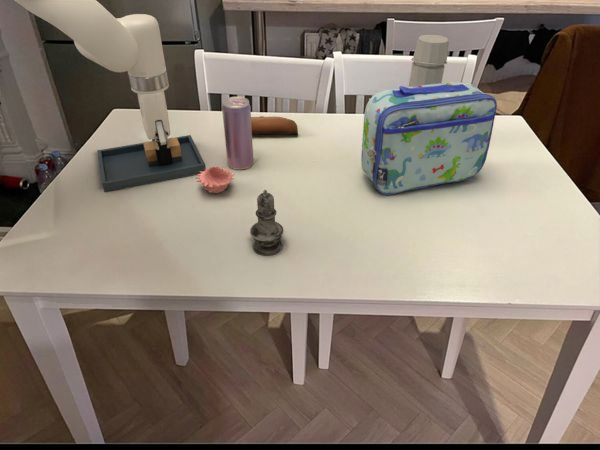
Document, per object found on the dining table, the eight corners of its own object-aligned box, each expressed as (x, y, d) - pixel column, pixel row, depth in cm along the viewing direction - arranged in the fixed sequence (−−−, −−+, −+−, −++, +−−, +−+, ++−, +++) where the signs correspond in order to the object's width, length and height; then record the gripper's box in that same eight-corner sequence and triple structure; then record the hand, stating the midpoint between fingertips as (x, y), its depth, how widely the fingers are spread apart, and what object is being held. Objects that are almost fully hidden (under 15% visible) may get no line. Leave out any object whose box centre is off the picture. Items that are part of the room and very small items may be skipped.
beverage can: (250, 171, 104) (246, 108, 95) (224, 169, 104) (217, 106, 95) (256, 158, 108) (252, 97, 99) (231, 156, 109) (226, 95, 100)
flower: (243, 189, 98) (241, 166, 94) (215, 206, 93) (212, 182, 90) (217, 177, 102) (215, 154, 98) (189, 192, 97) (185, 169, 93)
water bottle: (429, 151, 112) (450, 45, 97) (396, 146, 114) (412, 41, 99) (432, 135, 119) (453, 33, 104) (401, 131, 121) (417, 30, 106)
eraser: (148, 166, 104) (145, 150, 101) (146, 158, 107) (143, 142, 104) (182, 160, 106) (179, 144, 104) (179, 152, 109) (176, 137, 107)
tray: (104, 192, 97) (101, 183, 95) (99, 158, 108) (97, 150, 107) (206, 172, 103) (205, 164, 102) (191, 142, 115) (190, 134, 113)
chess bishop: (290, 242, 84) (289, 186, 77) (272, 260, 80) (270, 203, 73) (263, 232, 86) (260, 176, 79) (244, 249, 82) (239, 193, 75)
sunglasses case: (296, 121, 124) (296, 106, 118) (297, 144, 121) (298, 129, 115) (228, 122, 123) (225, 107, 117) (228, 145, 120) (225, 131, 114)
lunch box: (370, 201, 95) (382, 103, 82) (353, 174, 103) (361, 82, 90) (484, 185, 100) (511, 91, 87) (458, 161, 108) (481, 72, 96)
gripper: (125, 69, 100) (142, 145, 111) (134, 97, 88) (152, 180, 99) (161, 65, 103) (173, 140, 114) (174, 92, 90) (187, 173, 101)
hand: (163, 158), depth 106 cm, fingers closed on eraser, 4 cm apart
